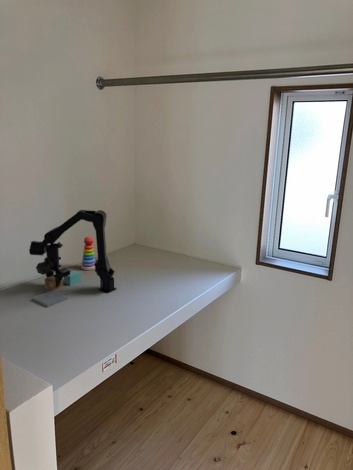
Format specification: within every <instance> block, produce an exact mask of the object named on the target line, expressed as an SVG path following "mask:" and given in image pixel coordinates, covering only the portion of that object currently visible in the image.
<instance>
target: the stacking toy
mask: <svg viewBox="0 0 353 470" xmlns="http://www.w3.org/2000/svg"><path fill="white" fill-rule="evenodd" d="M83 242H84V246H83V252H82V254H83V255H82V259H81V266H80V267H81V269H82V270H85V271H92V270H95V265H94V263H95V262H96V259H95V251H94V245H93V243H94V238H93V237H92V236H90V235H89V236H86V237H84V240H83Z"/></svg>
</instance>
